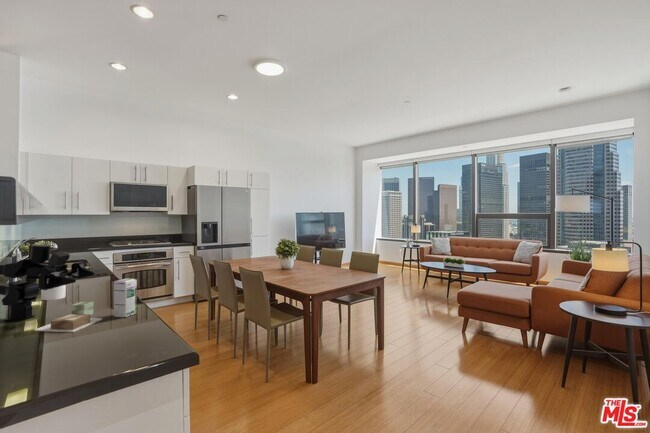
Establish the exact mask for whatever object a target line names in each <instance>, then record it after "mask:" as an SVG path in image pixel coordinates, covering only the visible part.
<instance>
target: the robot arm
mask: <svg viewBox="0 0 650 433" xmlns="http://www.w3.org/2000/svg"><path fill="white" fill-rule="evenodd" d="M51 250H52V245H51V244H29V245H28V258H26V259H20V260H18V261H17V262H12V263H0V275H1V276H4V277H6V278H10V279H16V278H17V279H18V278H23V277H25V278H24V279H20V280H16V281H10V282H0V296H4V297H3V298H2V299H1V304H2V306H7V318H3V320H7V322H21V321H24V320H27V319H30V318H33V317H35V315H36V314H33V305H32V302H34V301H36V300H37V298H38V296H39V293H40V290H48V289H52V288H56V287H59V286H63V285H66V286H67V285H69V284H74V283H76V280H77V279H83V278H89V277H92V276H95V272H94V271H92V270H91V269H89V268H86V265H87V264H86V263H87V262H86V261H83V260H82V261H81V260H80V261H76V262H73V263H72V264H71V266H70V267H71V269H68V266H69V265H68V264H67V261H69V259H70V257H71V254H70V253H69V252H68V251H61V250H60V251H58V252H54V253H52V254H51ZM46 262H47V264H46ZM37 281H38V282H37Z"/></svg>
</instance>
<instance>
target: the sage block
mask: <svg viewBox="0 0 650 433" xmlns="http://www.w3.org/2000/svg"><path fill="white" fill-rule="evenodd" d="M94 305H95V303H94V301H80V302H76V303H74V304H71V314H91V315H90V316H92V315H94V307H95V306H94Z"/></svg>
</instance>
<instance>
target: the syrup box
mask: <svg viewBox="0 0 650 433" xmlns="http://www.w3.org/2000/svg"><path fill="white" fill-rule="evenodd" d="M137 283H138V281H137V279H136V278H123V279H118V280H115V281H114V282H113V317H115V318H124V317H126V318H127V317H128V318H129V317H131V316H133V315H136V314H137V295H138V294H137V292H138V290H137V288H138V286H137V285H138V284H137ZM130 315H131V316H130Z"/></svg>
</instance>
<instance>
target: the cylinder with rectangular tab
mask: <svg viewBox="0 0 650 433" xmlns="http://www.w3.org/2000/svg"><path fill="white" fill-rule="evenodd" d="M66 289H67V285H63V286H59V287H56V288H52V289H48V290H41V289H40V290H41V291H40V300H42V301H55V300H60V299H64V298H66V292H67V290H66Z"/></svg>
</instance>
